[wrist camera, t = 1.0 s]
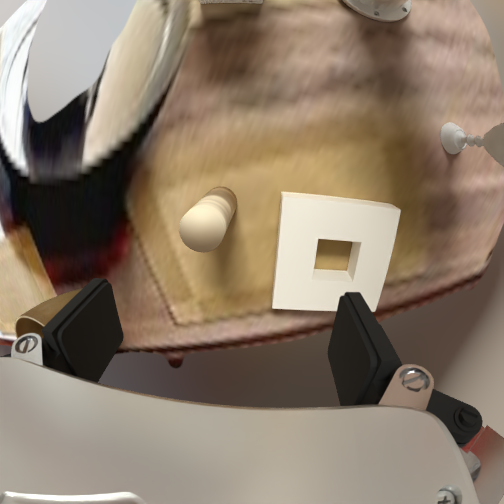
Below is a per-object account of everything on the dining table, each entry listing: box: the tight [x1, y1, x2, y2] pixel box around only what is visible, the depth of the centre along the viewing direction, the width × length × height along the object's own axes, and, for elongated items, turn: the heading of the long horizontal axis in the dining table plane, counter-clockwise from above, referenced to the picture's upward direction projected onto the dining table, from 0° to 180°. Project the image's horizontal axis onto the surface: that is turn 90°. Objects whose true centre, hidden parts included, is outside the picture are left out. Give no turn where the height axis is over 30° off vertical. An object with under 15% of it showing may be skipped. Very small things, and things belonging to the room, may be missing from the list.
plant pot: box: [15, 289, 82, 339], centre depth 38 cm, size 15×15×16 cm
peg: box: [179, 187, 237, 252], centre depth 31 cm, size 4×4×12 cm
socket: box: [272, 192, 401, 312], centre depth 37 cm, size 16×16×4 cm
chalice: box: [440, 122, 504, 167], centre depth 22 cm, size 7×7×18 cm
